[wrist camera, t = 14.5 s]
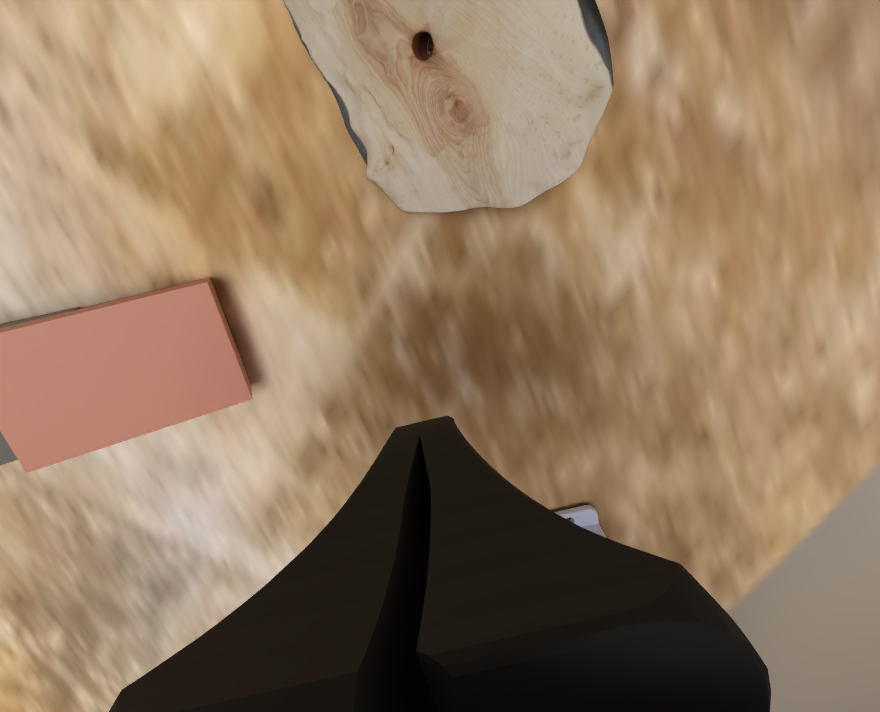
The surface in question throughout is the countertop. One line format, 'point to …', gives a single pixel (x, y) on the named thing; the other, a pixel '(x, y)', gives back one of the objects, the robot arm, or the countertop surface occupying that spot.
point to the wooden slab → (463, 92)
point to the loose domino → (116, 372)
